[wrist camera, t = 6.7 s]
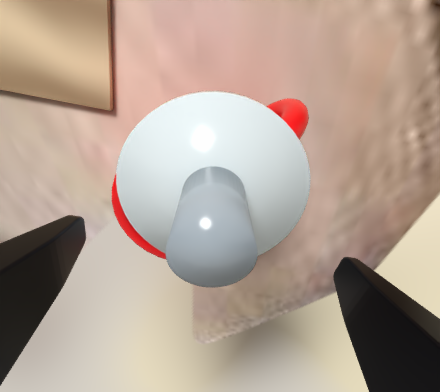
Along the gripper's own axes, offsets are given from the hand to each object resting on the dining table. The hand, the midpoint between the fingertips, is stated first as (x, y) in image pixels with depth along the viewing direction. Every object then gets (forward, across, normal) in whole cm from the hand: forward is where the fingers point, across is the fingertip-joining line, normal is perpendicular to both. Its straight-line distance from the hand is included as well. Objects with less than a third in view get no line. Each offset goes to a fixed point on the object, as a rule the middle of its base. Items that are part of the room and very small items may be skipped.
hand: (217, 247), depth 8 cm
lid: (+4, 0, 0) cm, 4 cm away
